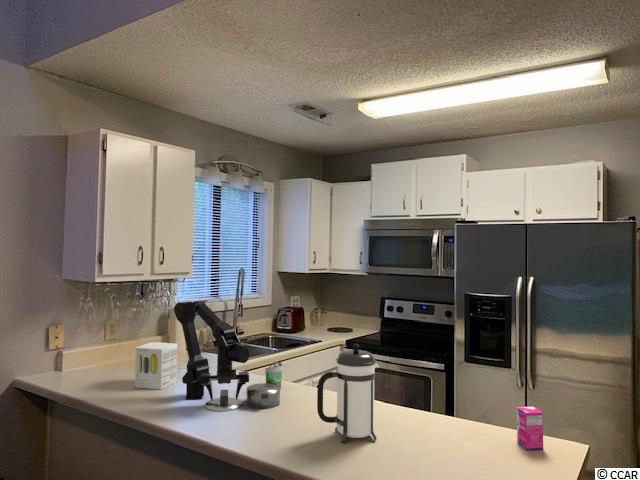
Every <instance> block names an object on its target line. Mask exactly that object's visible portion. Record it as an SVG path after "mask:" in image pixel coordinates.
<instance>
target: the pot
mask: <svg viewBox="0 0 640 480" xmlns="http://www.w3.org/2000/svg"><path fill="white" fill-rule="evenodd" d="M245 399H246V401H245V402H246V406H247V407H248V408H251V409H255V410H257V409H258V410H267V409H274V408H276V407H278V406H279V405H280V403H281V402H280V401H281V388H280V387H279V386H278V385H275V384H267V383H266V382H263V383H255V384H254V383H253V384H250V385H248V386H247V387H246V398H245Z"/></svg>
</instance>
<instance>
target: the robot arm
mask: <svg viewBox="0 0 640 480" xmlns="http://www.w3.org/2000/svg"><path fill="white" fill-rule="evenodd" d="M173 312H174V315H175V318H176V320H177V321H178V322H179V323H180V324H181V326H182V332H183V336H184V341H185V346H186V347H185V348H186V351H187V356H188V361H187V365H186V372H185V373H184V375H183V376H182V378H181V380H182V384H184V385H185V384H186V386H185V387H186V391H185V393H186V394H185V400H202V399H203V398H204V397H205V396H204V395H205V388H206V389H207V391H208V395H209V397H210V400H211V401H213V399H214V394H213V385H212V381H217V384H219V385H223V384H227V385H229V384H230V383H232V381H235V380H237V384H236V390H235V391H236V392H235V398H236V400H237V399H239V398H238V397H239V394H240V391H241V390H242V387H243V385H246V383H250V373H249V371H238V374H237V369H236V368H235V369H233V362H234V363H238V364H246V363H247V362H248V361H249V359H250V351H249V349H248V348H247V346H246V344H245V343H244V344H243V343H242V342H241V341H240V338H239V336H238V335H237V333H236V329H235V327H234V326H232V325H231V324H229V323H227V322H225V321H223V320H221V319H220V318H219V317H218V316H217V315H216V313H214V311H213V310H212V309H211V308H209V306H208V305H207V304H206V301H204V300H201V299H200V300H194V301H189V300H188V301H180V302H176V303H175V305H174V307H173ZM197 315H198V316H199V318H201V319H202V321H204V323H206V325H207V326H208V327H209V328H210V330H211V333H212V336H213V338H214V339H215V341H216V343H214V344H213V347H214V348H217V353H216V354H217V355H216V356H217V360H216V361H217V362H216V363H217V365H216V369H217V370H216V375H215V374H213V375H212V374H211V372H210V368H211V367H210V365H209V359H208V358H204V356H203V355H202V352H201V348H200V343H199V338H198V334H197V330H196V325H195V319H196V316H197Z"/></svg>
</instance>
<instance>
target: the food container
mask: <svg viewBox="0 0 640 480" xmlns="http://www.w3.org/2000/svg"><path fill="white" fill-rule="evenodd" d="M272 362H273V363H272V365H270V366H268V367H265V383H267V384H275V385H278V386H279V387H280V389H281V387H282V377H283V375H282V374H283V371H284V365H283V363H281V362H277V361H272Z"/></svg>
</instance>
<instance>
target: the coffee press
mask: <svg viewBox="0 0 640 480" xmlns="http://www.w3.org/2000/svg"><path fill="white" fill-rule="evenodd" d="M335 361H336V364H337V367H336V371H334V372H333V371H328V372H325V373H323V375H321V376H320V378H319V380H318V383H317V391H316V392H317V393H316V397H317V398H316V399H317V400H316V402H317V403H316V405H317V406H316V407H317V415H318V417H319V419H320V420H321V421H323V422H325V423H330V424H331V423H332V424H333V423H335V424H336V427H335V428H334V430H335V432H336V433H339V434H340V435H341V436H342V437H341V443H342V444H348V442H349V439H351V438H352V439H354V438H355V439H360V438H365V437H366V438H368V440H369V441H370V442H372V443H374V442H376V441H377V436H376V435H375V432H374V429H375V425H374V424H375V378H376V371H375V369H379V368H380V366H379V364H378V363H377V360H376V359H375V356H374V355H373V354H372V353H371V352H369V351H367V350H362V349H360V345H359V343H353V345H352V349H348V350H347V349H346V350H344V351H341V352H340V353H339V354H338V356H337V358H336V359H335ZM333 378H337V379H336V380H337V381H336V382H337V383H336V386H337V387H336V389H337V390H336V391H337V392H336V416H327V415H325V413H324V384H325V383H326V381H327V380H328V379H333ZM371 435H372V436H371Z"/></svg>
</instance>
